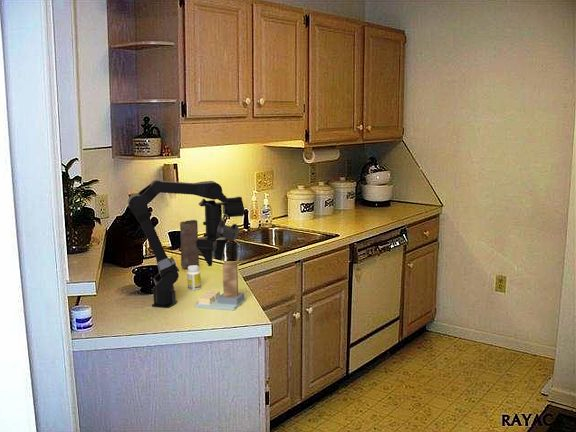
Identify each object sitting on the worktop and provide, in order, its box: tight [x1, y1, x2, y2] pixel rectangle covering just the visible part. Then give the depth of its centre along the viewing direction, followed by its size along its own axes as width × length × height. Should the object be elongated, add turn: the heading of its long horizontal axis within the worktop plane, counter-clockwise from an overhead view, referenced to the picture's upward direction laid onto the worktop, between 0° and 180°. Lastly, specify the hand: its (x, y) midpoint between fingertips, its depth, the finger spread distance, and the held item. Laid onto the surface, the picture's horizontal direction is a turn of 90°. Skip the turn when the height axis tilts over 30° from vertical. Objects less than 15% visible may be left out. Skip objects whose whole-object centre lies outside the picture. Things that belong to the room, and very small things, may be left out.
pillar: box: [222, 261, 239, 297], centre depth 208 cm, size 4×4×11 cm
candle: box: [179, 219, 200, 270], centre depth 256 cm, size 8×7×20 cm
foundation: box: [194, 290, 246, 311], centre depth 209 cm, size 14×11×3 cm
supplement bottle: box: [186, 265, 202, 291], centre depth 227 cm, size 5×5×8 cm
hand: (215, 262), depth 213 cm, fingers open, 9 cm apart
